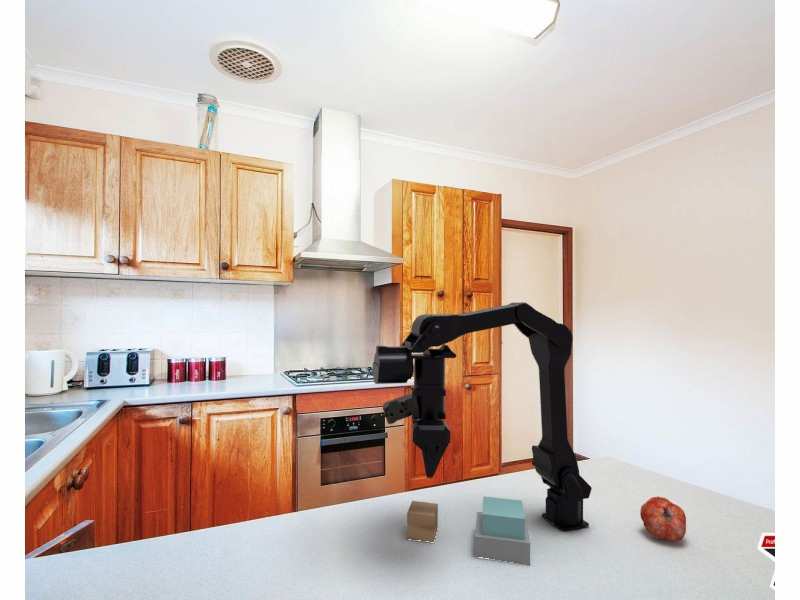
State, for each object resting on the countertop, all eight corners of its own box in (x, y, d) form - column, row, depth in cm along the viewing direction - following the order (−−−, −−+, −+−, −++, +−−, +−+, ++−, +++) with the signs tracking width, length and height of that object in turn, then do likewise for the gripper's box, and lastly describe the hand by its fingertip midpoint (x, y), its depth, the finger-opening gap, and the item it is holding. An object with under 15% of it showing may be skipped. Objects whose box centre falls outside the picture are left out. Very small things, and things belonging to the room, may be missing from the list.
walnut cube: (411, 526, 82) (412, 500, 82) (437, 529, 81) (437, 503, 81) (406, 540, 77) (407, 512, 77) (434, 544, 76) (434, 516, 76)
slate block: (476, 532, 81) (477, 511, 81) (525, 538, 79) (526, 517, 79) (474, 559, 72) (475, 536, 72) (530, 567, 70) (530, 543, 70)
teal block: (483, 515, 79) (483, 496, 79) (521, 519, 78) (522, 500, 78) (482, 534, 72) (482, 513, 73) (524, 540, 71) (524, 518, 71)
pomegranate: (637, 537, 83) (636, 523, 77) (643, 500, 87) (643, 484, 80) (682, 554, 79) (686, 541, 72) (686, 514, 82) (690, 498, 76)
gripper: (388, 373, 87) (387, 449, 87) (382, 391, 69) (381, 488, 68) (442, 374, 87) (441, 450, 87) (451, 392, 69) (450, 489, 68)
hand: (428, 467), depth 78 cm, fingers open, 9 cm apart
